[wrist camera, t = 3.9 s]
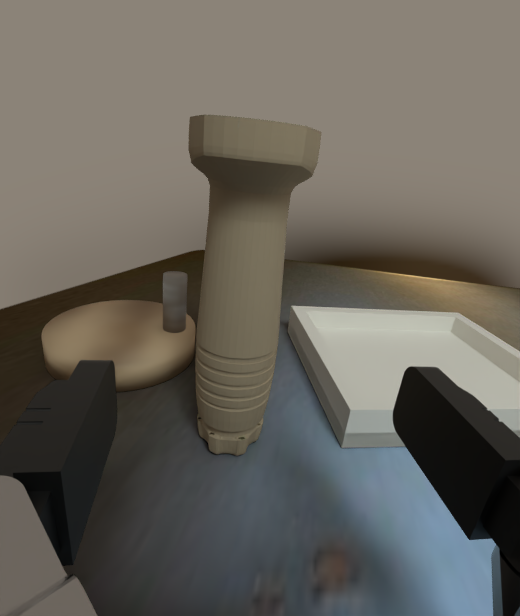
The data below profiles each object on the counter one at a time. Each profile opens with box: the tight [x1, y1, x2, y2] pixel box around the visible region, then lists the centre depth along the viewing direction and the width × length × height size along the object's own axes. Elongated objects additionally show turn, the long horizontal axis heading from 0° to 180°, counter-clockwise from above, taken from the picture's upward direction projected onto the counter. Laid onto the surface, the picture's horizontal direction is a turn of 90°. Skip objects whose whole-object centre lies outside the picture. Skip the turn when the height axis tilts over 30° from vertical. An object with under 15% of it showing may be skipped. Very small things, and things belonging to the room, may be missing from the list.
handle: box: [189, 115, 321, 456], centre depth 17 cm, size 5×6×15 cm
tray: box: [288, 306, 520, 448], centre depth 27 cm, size 16×14×2 cm
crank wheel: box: [42, 271, 195, 392], centre depth 26 cm, size 10×10×6 cm
